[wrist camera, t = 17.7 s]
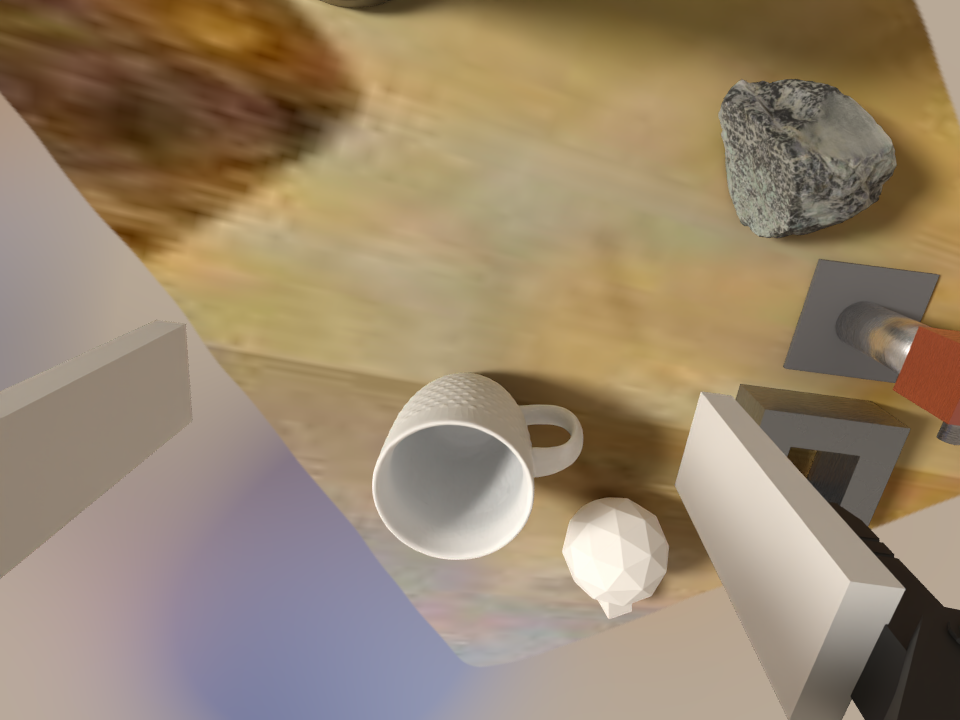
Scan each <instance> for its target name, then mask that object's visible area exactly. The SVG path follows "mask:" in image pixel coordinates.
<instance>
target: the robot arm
mask: <svg viewBox="0 0 960 720" xmlns="http://www.w3.org/2000/svg"><path fill="white" fill-rule="evenodd" d="M320 1H323V2H326V3H329V4H333V5H337V6H343V7H369V6H375V5H379V4H382V3H385V2H388V1H391V0H320ZM191 421H192V408H191V393H190V379H189V364H188V350H187V336H186V324H183V323H175V322H167V321H160V320H155V321H153V322H151V323H148V324H146V325H144V326H142V327H140V328H138V329H135V330H133V331H131V332H129V333H127V334H124V335H122V336H120V337H118V338H116V339H113V340H111V341H109V342H107V343H105V344H103V345H100V346H98V347H96V348H94V349H92V350H90V351H87V352H85V353H83V354H81V355H79V356H76V357H74V358H72V359H70V360H68V361H66V362H64V363H61V364H59V365H57V366H55V367H52V368H50V369H48V370H46V371H44V372H42V373H40V374H37V375H35V376H33V377H31V378H29V379H26V380H24V381H22V382H20V383H18V384H15V385H13V386H11V387H9V388H7V389H5V390H2V391H0V578H2V577H3V576H4V575H5V574H7V573H8V572H9V571H10V570H12V569H13V568H14V567H15V566H16V565H18V564H19V563H20V562H21V561H23V560H24V559H25V558H26V557H27V556H29V555H30V554H31V553H32V552H34V551H35V550H36V549H37V548H38V547H40V546H41V545H42V544H43V543H44V542H46V541H47V540H48V539H49V538H51V536H53V535H54V534H55V533H57V532H58V531H59V530H60V529H62V528H63V527H64V526H65V525H66V524H68V523H69V522H70V521H71V520H72V519H74V518H75V517H76V516H77V515H78V514H80V513H81V512H82V511H83V510H85V508H87V507H88V506H89V505H91V504H92V503H93V502H94V501H96V500H97V499H98V498H99V497H100V496H102V495H103V494H104V493H105V492H106V491H108V490H109V489H110V488H111V487H112V486H114V485H115V484H116V483H117V482H119V481H120V480H121V479H122V478H123V477H124V476H126V475H127V474H128V473H130V472H131V471H132V470H133V469H134V468H136V467H137V466H138V465H139V464H140V463H142V462H143V461H144V460H145V459H146V458H148V457H149V456H150V455H151V454H153V453H154V452H155V451H156V450H157V449H159V448H160V447H161V446H162V445H164V444H165V443H166V442H167V441H168V440H170V439H171V438H172V437H173V436H175V435H176V434H177V433H178V432H179V431H181V430H182V429H183V428H184V427H185V426H187V425H188V424H189V423H190V422H191ZM675 487H676V489H677V491H678V493H679V495H680V497H681V499H682V501H683V503H684V505H685V508H686V510H687V512H688V514H689V516H690V518H691V520H692V522H693V524H694V526H695V528H696V530H697V532H698V534H699V537H700V539H701V541H702V543H703V545H704V547H705V549H706V551H707V553H708V555H709V557H710V559H711V561H712V563H713V565H714V568H715V570H716V572H717V574H718V576H719V578H720V580H721V582H722V584H723V586H724V588H725V590H726V592H727V594H728V596H729V599H730V601H731V603H732V605H733V607H734V609H735V611H736V613H737V615H738V617H739V619H740V621H741V623H742V625H743V628H744V629H745V632H746V634H747V636H748V638H749V640H750V642H751V644H752V646H753V648H754V650H755V652H756V654H757V656H758V659H759V661H760V663H761V665H762V666H763V669H764V671H765V673H766V675H767V677H768V679H769V681H770V683H771V685H772V688H773V689H774V692H775V694H776V696H777V698H778V700H779V702H780V704H781V706H782V708H783V710H784V712H785V714H786V716H787V719H788V720H842V718H843V716H844V714H845V712H846V710H847V708H848V706H849V704H850V702H851V700H853V701H854V703H855V704H856V706H857V708H858V709H859V711H860V713H861V714H862V716H863V717H864V719H865V720H960V610H957V609H952V608H947V607H944V606H943V605H942V604H941V603H940V602H939V601H938V600H937V599H936V598H935V597H934V596H933V595H932V594H931V593H930V592H929V591H928V590H927V588H925V586H924V585H923V584H922V583H921V582H920V581H919V580H918V579H917V578H916V577H915V576H914V575H913V574H912V573H911V572H910V571H909V570H908V569H907V567H906V566H905V565H904V564H903V563H902V562H901V561H900V560H899V559H897V558H894V554H893V553H892V552H891V551H890V550H889V548H888V547H887V546H886V545H885V544H884V543H881V542H879V538H878V537H877V536H876V535H875V534H874V533H873V532H872V531H871V529H870V528H869V527H868V526H867V525H866V524H865V523H864V522H863V521H862V520H861V519H859V518H858V517H856V516H855V515H853V514H852V513H850V512H849V511H847V510H846V509H844V508H843V507H841V506H840V505H839V504H837V503H833V502H827V501H826V500H825V499H824V498H823V497H822V496H821V494H820V493H819V492H818V491H817V490H816V489H815V488H814V487H813V486H812V484H811V483H810V482H809V481H808V480H807V479H806V478H805V477H804V476H803V474H802V473H801V472H800V471H799V470H798V469H797V468H796V467H795V466H794V464H793V463H792V462H791V461H790V460H789V459H788V458H787V457H786V456H785V454H784V453H783V452H782V451H781V450H780V449H779V448H778V447H777V446H776V444H775V443H774V442H773V441H772V440H771V439H770V438H769V437H768V436H767V434H766V433H765V432H764V431H763V430H762V429H761V428H760V427H759V426H758V424H757V423H756V422H755V421H754V420H753V419H752V418H751V417H750V416H749V414H748V413H747V412H746V411H745V410H744V409H743V408H742V407H741V406H740V404H739V403H738V402H737V401H736V400H735V399H734V398H733V397H732V396H731V395H723V394H715V393H708V392H701V394H700V397H699V401H698V404H697V408H696V411H695V415H694V418H693V422H692V426H691V429H690V433H689V436H688V440H687V443H686V447H685V451H684V454H683V458H682V461H681V465H680V468H679V472H678V476H677V479H676V483H675Z"/></svg>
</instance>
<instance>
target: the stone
mask: <svg viewBox="0 0 960 720" xmlns="http://www.w3.org/2000/svg"><path fill="white" fill-rule="evenodd" d="M719 119H720V123H721V127H722V129H723V130H722V133H721V136H722V139H723V142H724V146H725V156H726V171H727V181H728V188H729V193H730V196H731V198H732V201H733V204H734V206H735V209H736V212H737V215H738V217H739V219H740V222H741V223H742V224H743V225H744V226H749V227H750V229H751V230H752V231H753V232H754V233H755V234H756V235H758V236H759V237H766V238H771V237H774V238H780V237H785V236H789V235H792V234H794V235H804V234H808V233H812V232H815V231H818V230H820V229H823V228H826V227H829V226H832V225H836V224H839V223H842V222H844V221H845V220H848V219H849V218H852V217H853V216H855V215H856V214H858V213H859V212H861V211H862V210H865V209H867V208H868V207H869V206H870V205H871V204H873V203H875V202H877V201H878V200H879V195H880V194H881V191H882V185H883V184H884V183H885V182H886V181H887V180H889V178H890V177H891V176H892V175H893V172H894V169H895V168H896V165H897V164H896V156H895V149H894V147H893V144H892V140H891V138H890V137H889V136H888V135H887V134H886V133H885V132H884V131H883V129H882V127H881V126H879V125H878V124H877V123H876V122H875V120H874V119H873V117H872V116H871V115H870V114H869V113H868V112H866V111H865V110H864V109H863V108H862V107H861V106H860V105H859V104H858V103H857V102H856V101H855V100H853V99H852V98H851V97H849V96H847V95H844V94H842V93H841V92H840V91H839V90H838V89H837V88H836V87H833V86H830V85H828V84H823V83H816V82H813V81H803V80H798V79H786V80H780V81H776V82H772V83H768V82H765V81H761V82H756V83H748V82H746V81H745V80H743V79H741V80H740V81H739V82H738V83H736V84H735V85H734V86H733V87H732V88H731V89H730V90H729V92H728V93H727V95H726V96H725V98H724V100H723V102H722V104H721V110H720V112H719Z"/></svg>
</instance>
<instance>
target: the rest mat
mask: <svg viewBox="0 0 960 720" xmlns="http://www.w3.org/2000/svg"><path fill="white" fill-rule="evenodd" d="M938 278H939V275H937V274H932V273H924V272H916V271H908V270H900V269H893V268H885V267H877V266H869V265H861V264H854V263H846V262H838V261H830V260H822V259H819V261H818V264H817V267H816V270H815V273H814V276H813V279H812V282H811V285H810V288H809V291H808V294H807V297H806V300H805V303H804V306H803V309H802V312H801V315H800V318H799V321H798V324H797V327H796V330H795V333H794V336H793V339H792V342H791V345H790V348H789V351H788V354H787V357H786V360H785V363H784V366H783V367H784V368H785V369H793V370H800V371H808V372H816V373H823V374H831V375H839V376H846V377H854V378H861V379H869V380H877V381H884V382H892V383H895V382H896V380H897V377H898V375H899V374H898V373H897V372H895V371H893V370H891V369H890V368H888V367H886V366H884V365H883V364H881V363H879V362H877V361H876V360H874V359H872V358H870V357H869V356H867V355H865V354H863V353H862V352H860V351H858V350H856V349H855V348H853V347H851V346H849V345H848V344H846V343H844V342H843V341H841V340H840V339H839V338H838V336H837V334H836V330H835V325H836V321H837V318H838V316H839V315H840V313H841V312H842V311H843V310H844V309H845V308H846V307H848V306H850V305H851V304H854V303H857V302H861V301H867V302H871V303H874V304H877V305H879V306H881V307H884V308H886V309H889V310H891V311H893V312H896V313H898V314H901V315H903V316H906V317H908V318H910V319H913V320H915V321H918V322H920V321H921V319H922V316H923V314H924V312H925V309H926V307H927V304H928V302H929V299H930V297H931V295H932V292H933V290H934V287H935V285H936V282H937V280H938Z"/></svg>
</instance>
